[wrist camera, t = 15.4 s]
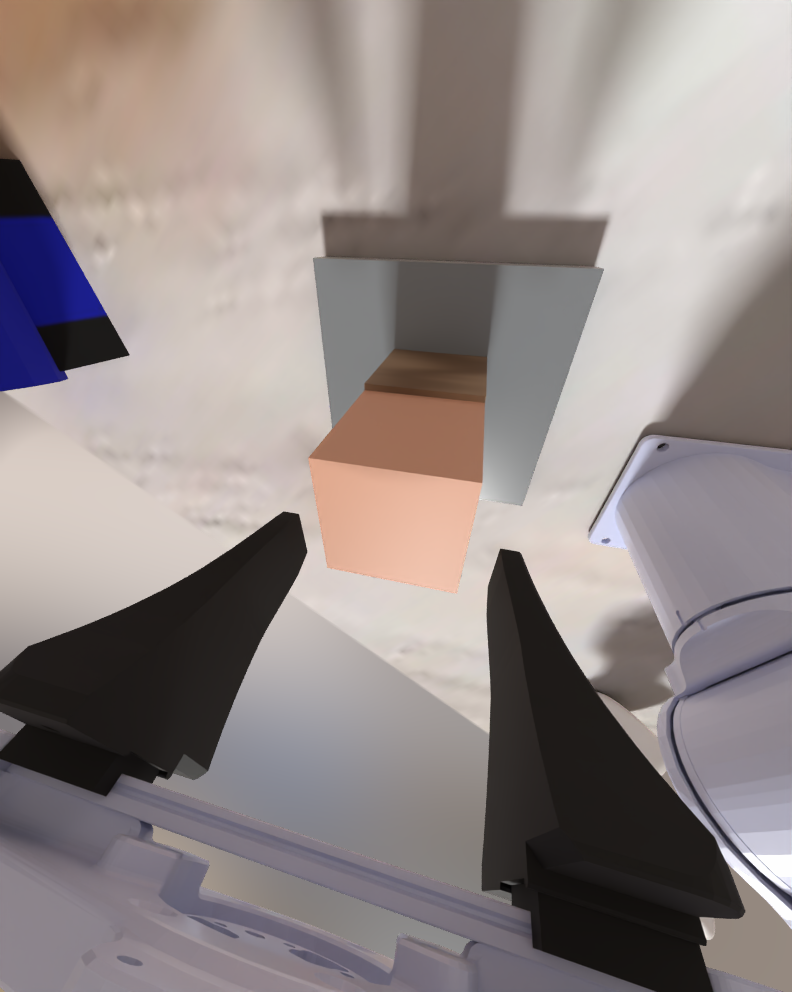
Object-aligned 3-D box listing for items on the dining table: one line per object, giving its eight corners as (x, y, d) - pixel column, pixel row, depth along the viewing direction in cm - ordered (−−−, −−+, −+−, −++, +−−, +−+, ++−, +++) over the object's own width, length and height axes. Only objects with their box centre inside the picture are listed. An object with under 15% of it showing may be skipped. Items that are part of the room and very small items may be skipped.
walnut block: (487, 356, 15) (486, 396, 11) (471, 441, 18) (466, 495, 14) (394, 348, 16) (364, 383, 12) (392, 431, 19) (368, 480, 15)
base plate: (594, 266, 14) (604, 268, 12) (520, 491, 21) (522, 505, 20) (326, 256, 16) (313, 258, 14) (345, 465, 23) (337, 477, 22)
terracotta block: (484, 402, 12) (482, 483, 8) (465, 499, 14) (456, 593, 11) (364, 390, 12) (308, 457, 9) (368, 484, 15) (327, 567, 11)
